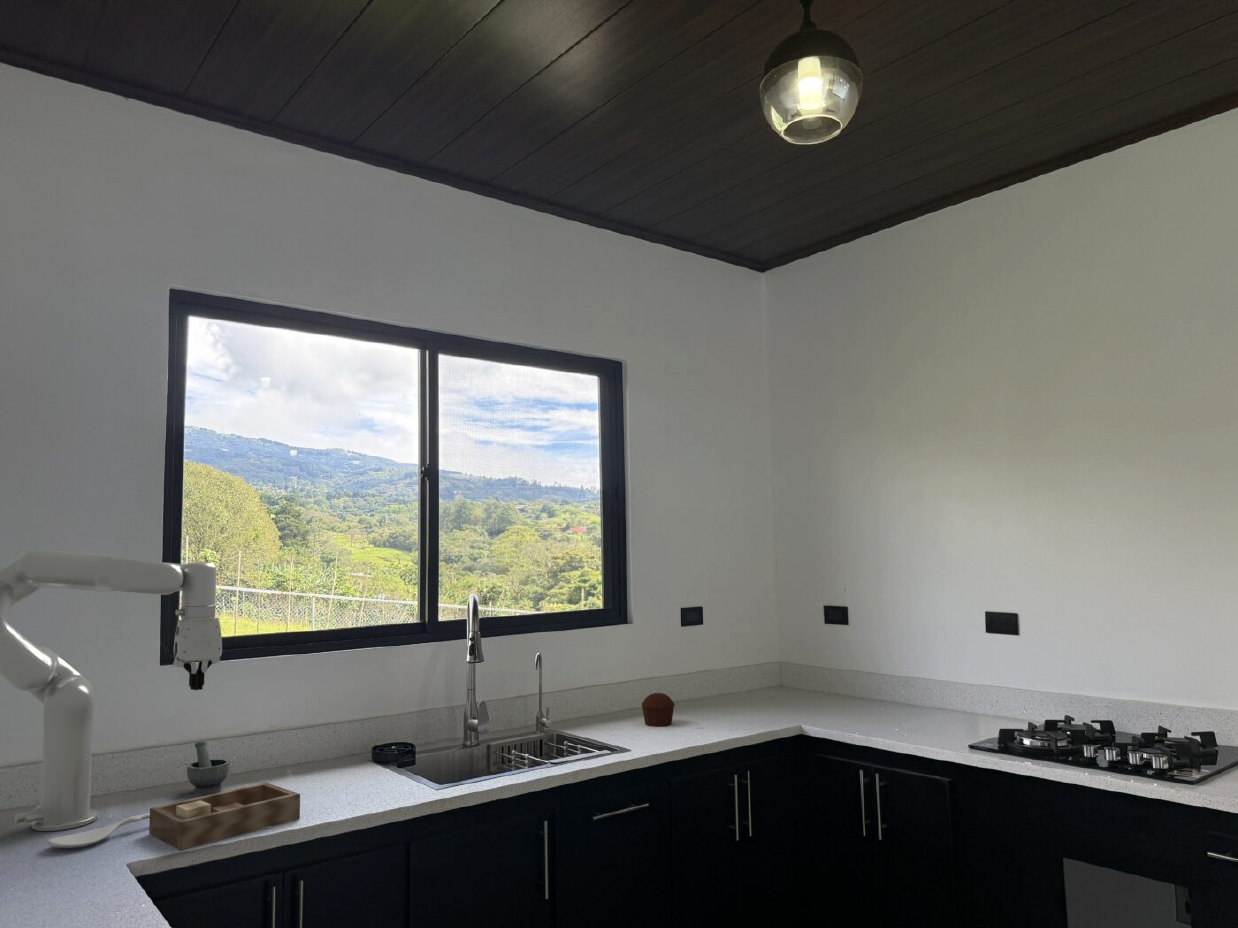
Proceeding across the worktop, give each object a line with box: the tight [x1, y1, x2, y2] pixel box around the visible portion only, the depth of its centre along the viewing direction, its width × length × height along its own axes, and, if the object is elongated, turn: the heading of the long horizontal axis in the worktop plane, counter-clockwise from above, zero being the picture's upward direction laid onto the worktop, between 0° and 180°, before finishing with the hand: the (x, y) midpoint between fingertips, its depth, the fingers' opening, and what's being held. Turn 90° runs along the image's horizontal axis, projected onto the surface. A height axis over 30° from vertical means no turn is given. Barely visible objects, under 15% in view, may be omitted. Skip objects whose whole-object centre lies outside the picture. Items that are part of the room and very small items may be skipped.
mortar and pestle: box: [186, 740, 231, 796], centre depth 224 cm, size 11×9×12 cm
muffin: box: [640, 692, 676, 728], centre depth 295 cm, size 12×11×10 cm
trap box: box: [148, 782, 301, 851], centre depth 194 cm, size 26×16×6 cm, turn 138°
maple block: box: [176, 800, 211, 819], centre depth 186 cm, size 5×5×4 cm
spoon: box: [47, 812, 150, 849], centre depth 192 cm, size 9×32×4 cm, turn 142°
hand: (196, 689), depth 214 cm, fingers closed
